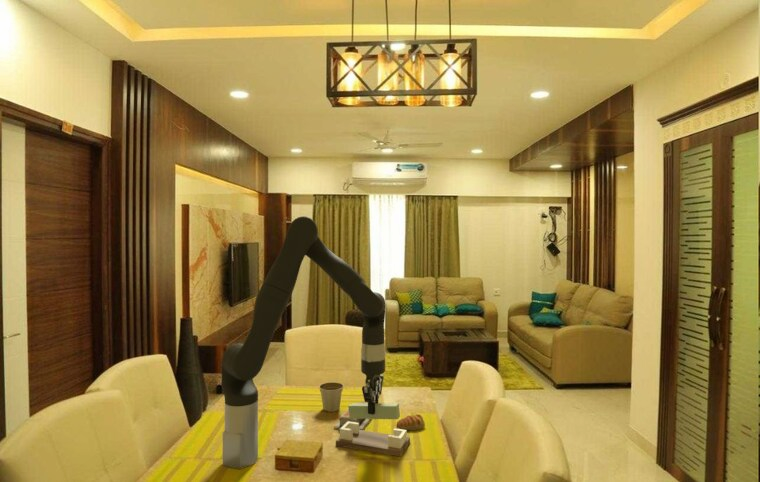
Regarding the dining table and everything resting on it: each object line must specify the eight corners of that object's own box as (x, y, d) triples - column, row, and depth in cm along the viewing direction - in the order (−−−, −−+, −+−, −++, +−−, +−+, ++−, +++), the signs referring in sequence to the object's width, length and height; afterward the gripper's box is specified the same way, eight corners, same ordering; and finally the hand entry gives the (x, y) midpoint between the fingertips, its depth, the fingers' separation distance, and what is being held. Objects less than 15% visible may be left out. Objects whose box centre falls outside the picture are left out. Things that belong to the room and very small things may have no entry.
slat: (397, 419, 139) (396, 406, 139) (349, 418, 145) (348, 405, 145) (400, 416, 142) (398, 403, 142) (352, 415, 147) (351, 403, 147)
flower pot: (327, 415, 166) (327, 391, 166) (314, 408, 173) (314, 385, 173) (348, 409, 171) (348, 386, 171) (334, 402, 179) (334, 380, 179)
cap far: (351, 440, 142) (351, 430, 142) (339, 438, 143) (339, 428, 143) (359, 432, 148) (359, 422, 148) (347, 430, 149) (347, 421, 149)
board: (400, 456, 135) (400, 451, 135) (335, 445, 142) (335, 440, 142) (409, 442, 144) (409, 437, 144) (348, 432, 151) (348, 428, 151)
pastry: (401, 433, 151) (401, 422, 151) (392, 426, 157) (392, 414, 157) (426, 428, 155) (426, 417, 155) (416, 421, 161) (416, 410, 161)
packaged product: (361, 419, 151) (333, 416, 154) (361, 434, 151) (333, 430, 154) (377, 401, 169) (351, 398, 171) (377, 414, 169) (351, 411, 171)
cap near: (400, 448, 137) (400, 438, 137) (388, 446, 138) (388, 436, 138) (406, 439, 143) (406, 430, 143) (394, 437, 144) (394, 428, 144)
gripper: (369, 350, 151) (369, 403, 151) (353, 361, 138) (353, 419, 138) (391, 352, 148) (391, 406, 149) (377, 364, 135) (376, 422, 135)
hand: (373, 412), depth 143 cm, fingers closed on slat, 2 cm apart
